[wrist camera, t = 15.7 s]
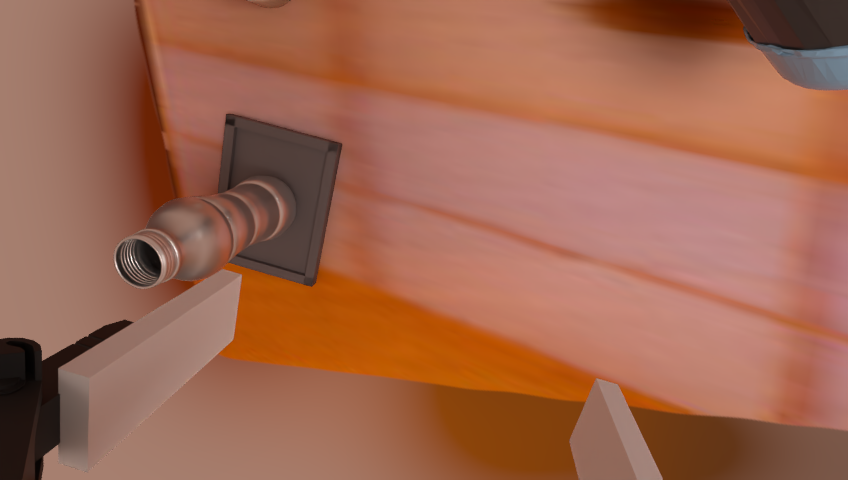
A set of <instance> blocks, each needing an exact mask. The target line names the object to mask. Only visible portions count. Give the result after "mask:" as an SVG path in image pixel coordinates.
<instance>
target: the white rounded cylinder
mask: <svg viewBox="0 0 848 480" xmlns="http://www.w3.org/2000/svg"><path fill="white" fill-rule="evenodd" d="M247 1H250V2H252V3H255V4H257V5H260V6H262V7H266V8H277V7H280V6H283V5H285V4H286V3H288V2H289V1H290V0H247Z"/></svg>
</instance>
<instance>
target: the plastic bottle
mask: <svg viewBox="0 0 848 480" xmlns="http://www.w3.org/2000/svg"><path fill="white" fill-rule="evenodd" d="M295 215H296V201H295V197H294V195H293V193H292V191H291V190H290V188H289V187H288V186H287V185H286V184H285V183H284V182H283V181H281V180H280V179H277V178H275V177H271V176H254V177H250V178H248V179H246V180H244V181H242V182H241V183H239V184H238V185H237V186H235V187H234V188H232V189H230V190H228V191H226V192H224V193H219V194H215V195H210V196H196V197H184V198H179V199H174V200H171V201H169V202H167V203H165V204H164V205H163V206H162V207H160V208H159V209H158V210H157V211H155V212H154V213H153V215H152V216H151V217H150V219H149V221H148V223H147V226H146V229H143V230H141V231H138V232H137V233H135V234H134V235H131V236H129V237H126V238H124V239H123V240H122V241H120V242H119V243H118V245H117V246H116V248H115V250H114V265H115V268H116V270H117V272H118V274H119V275H120V277H121V278H122V279H123V280H124V281H125V282H126V283H128V284H129V285H131V286H133V287H135V288H139V289H147V288H151V287H154V286H156V285H158V284H160V283H162V282H166V281H168V280H170V279H172V278H175V279H179V280H183V281H193V280H200V279H205V278H208V277H210V276H212V275H213V274H215V273H216V272H218V271H219V270H220V269H222V268H223V267H224V266H225V265H226V264H227V263H228V262H229V261H230V260H231V259H232V258H234V257H235V256H236V255H237V254H238V253H239V252H241V251H242V250H244V249H245V248H247V247H248V246H250V245H252V244H255V243H257V242H261V241H266V240H270V239H273V238H276V237H278V236H280V235H281V234H283V233H284V232H285V231H286V230H287V229H288V228H289V226H290V225H291V224H292V222H293V220H294V218H295Z"/></svg>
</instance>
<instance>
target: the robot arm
mask: <svg viewBox="0 0 848 480" xmlns="http://www.w3.org/2000/svg"><path fill="white" fill-rule="evenodd" d="M727 1H728V3H729V4H730V5H731V7H732V8H733V10H734V11H735V13H736V14H737V16H738V17H739V19H740V20H741V22H742V23H743V25H744V28H743V30H744V34H745V36H746V38H747V40H748V41H749V42H750V43H751V44H753V45H754V46H755V47H756V48H757V49H759V50H761V51H762V52H763V54H764V55H765V56H766V57H767V59H768V60H769V61H770V63H771V64H772V65H773V67H774V68H775V69H776V70H777V72H778V73H779V74H780V75H781V76H782V77H783V78H784V79H787V80H788V81H790V82H792V83H794V84H795V85H799V86H801V87H804V88H808V89H815V90H847V89H848V0H727ZM241 279H242V275H241V274H238V273H234V272H231V271H227V270H224V269H222V270H220V271H218V272H217V273H215V274H213V275H212V276H210V277H208V278H207V279H205V280H203V281H202V282H200V283H198V284H197V285H195V286H194V287H192V288H190V289H189V290H187V291H185V292H184V293H182V294H180V295H179V296H177V297H175V298H174V299H172V300H171V301H169V302H167V303H165V304H164V305H162V306H160V307H159V308H157V309H156V310H154V311H152V312H151V313H149V314H147V315H146V316H144V317H142V318H141V319H139V320H137V321H136V322H130V321H127V320H123V321H119V322H116V323H112V324H109V325H105V326H103V327H102V328H100V329H98V330H96V331H94V332H93V333H91V334H89V336H88V337H84V338H82V339H80V340H79V341H77V342H76V343H75V344H72V345H70V346H68V347H66V348H65V349H63V350H61V351H59V352H57V353H56V354H54V355H52V356H50V357H49V358H47V359H45V360H43V361H42V350H41V346H40V345H39V344H38V343H37V342H35V341H33V340H29V339H25V338H5V339H0V480H41V478H42V472H43V456H44V455H45V454H46V453H48V452H49V451H50V450H51V449H53V448H54V447H55V446H57V445H58V447H59V453H58V454H59V463H60V464H63V465H66V466H69V467H73V468H75V469H79V470H82V471H85V472H88V471H89V470H91V469H92V468H93V467H94V466H95V465H96V464H97V463H98V462H99V461H100V460H102V459H103V458H104V457H105V456H106V455H107V454H108V453H109V452H110V451H111V450H113V449H114V448H115V447H116V446H117V445H118V444H119V443H120V442H121V441H122V440H123V439H124V438H126V437H127V436H128V435H129V434H130V433H131V432H132V431H133V430H135V429H136V428H137V427H138V426H139V425H140V424H141V423H142V422H143V421H144V420H146V419H147V418H148V417H149V416H150V415H151V414H152V413H153V412H154V411H155V410H156V409H158V408H159V407H160V406H161V405H162V404H163V403H164V402H165V401H166V400H167V399H169V398H170V397H171V396H172V395H173V394H174V393H175V392H176V391H177V390H179V389H180V388H181V387H182V386H183V385H184V384H185V383H186V382H187V381H188V380H190V379H191V378H192V377H193V376H194V375H195V374H196V373H197V372H198V371H199V370H201V368H203V367H204V366H205V365H206V364H207V363H208V362H209V361H210V360H212V359H213V358H214V357H215V356H216V355H217V354H218V353H219V352H220V351H221V350H223V349H224V348H225V347H226V346H227V345H228V344H229V343H230V342H231V341H232V340H233V339H234V331H235V324H236V316H237V309H238V302H239V294H240V287H241ZM570 445H571V449H572V453H573V457H574V461H575V465H576V469H577V473H578V477H579V480H663V479H662V476H661V475H660V472H659V471H658V468H657V466H656V464H655V462H654V460H653V458H652V455H651V453H650V451H649V449H648V447H647V445H646V443H645V441H644V439H643V436H642V434H641V432H640V430H639V428H638V426H637V424H636V422H635V420H634V418H633V415H632V413H631V411H630V409H629V407H628V405H627V403H626V401H625V398H624V396H623V394H622V392H621V390H620V388H619V386H618V384H614V383H611V382H608V381H604V380H601V379H597V378H596V380H595V382H594V385H593V387H592V389H591V392H590V394H589V396H588V399H587V401H586V403H585V406H584V408H583V410H582V413H581V415H580V417H579V420H578V422H577V424H576V427H575V429H574V431H573V434H572V436H571V438H570Z"/></svg>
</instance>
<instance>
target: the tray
mask: <svg viewBox="0 0 848 480" xmlns="http://www.w3.org/2000/svg"><path fill="white" fill-rule="evenodd" d="M341 147H342V144H341V143H337V142H334V141H330V140H326V139H323V138H319V137H315V136H312V135H308V134H304V133H300V132H297V131H293V130H289V129H286V128H282V127H278V126H275V125H271V124H267V123H264V122H260V121H256V120H253V119H249V118H245V117H241V116H238V115H234V114H226V123H225V132H224V141H223V150H222V160H221V169H220V178H219V187H218V194H219V193H224V192H226V191H228V190H230V189H232V188H234V187H235V186H237V185H238V184H239V183H241V182H242V181H244V180H246V179H248V178H250V177H254V176H271V177H275V178H277V179H280V180H281V181H283V182H284V183H285V184H286V185H287V186H288V187H289V188H290V190H291V191H292V193H293V195H294V197H295V201H296V215H295V218H294V220H293V222H292V224H291V225H290V226H289V228H288V229H287V230H286V231H285V232H284V233H283V234H281V235H280V236H278V237H276V238H273V239H270V240H266V241H261V242H257V243H255V244H252V245H250V246H248V247H247V248H245V249H244V250H242V251H241V252H239V253H238V254H237V255H236V256H235V257H234V258H232V259H231V260H230V261H229V262H228V263H232V264H235V265H239V266H242V267H246V268H249V269H253V270H256V271H259V272H263V273H266V274H270V275H273V276H277V277H280V278H283V279H287V280H290V281H294V282H297V283H301V284H304V285H308V286H311V287H312V286H313V285H314V284H315V283H316V279H317V274H318V268H319V263H320V258H321V253H322V247H323V242H324V237H325V231H326V226H327V221H328V216H329V210H330V205H331V200H332V194H333V189H334V184H335V179H336V173H337V168H338V163H339V158H340V152H341Z"/></svg>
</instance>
